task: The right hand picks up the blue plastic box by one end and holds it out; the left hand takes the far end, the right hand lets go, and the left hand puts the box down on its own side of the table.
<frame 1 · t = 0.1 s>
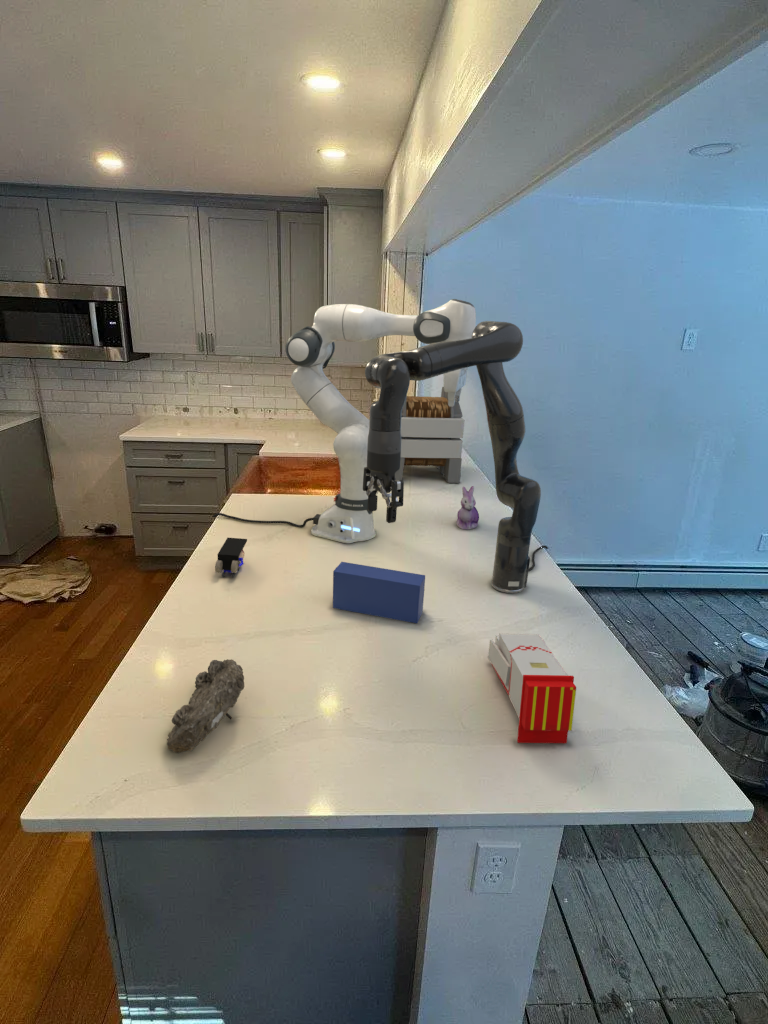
left hand: (453, 403, 174), 48 cm above the counter, tool pointing down, fingers open, 8 cm apart
right hand: (381, 516, 132), 29 cm above the counter, tool pointing down, fingers open, 8 cm apart
fossil: (212, 717, 108), on the counter
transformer: (419, 473, 275), on the counter
box: (377, 609, 149), on the counter
figurine: (467, 525, 210), on the counter
toy: (522, 696, 118), on the counter
figurine character: (232, 569, 168), on the counter
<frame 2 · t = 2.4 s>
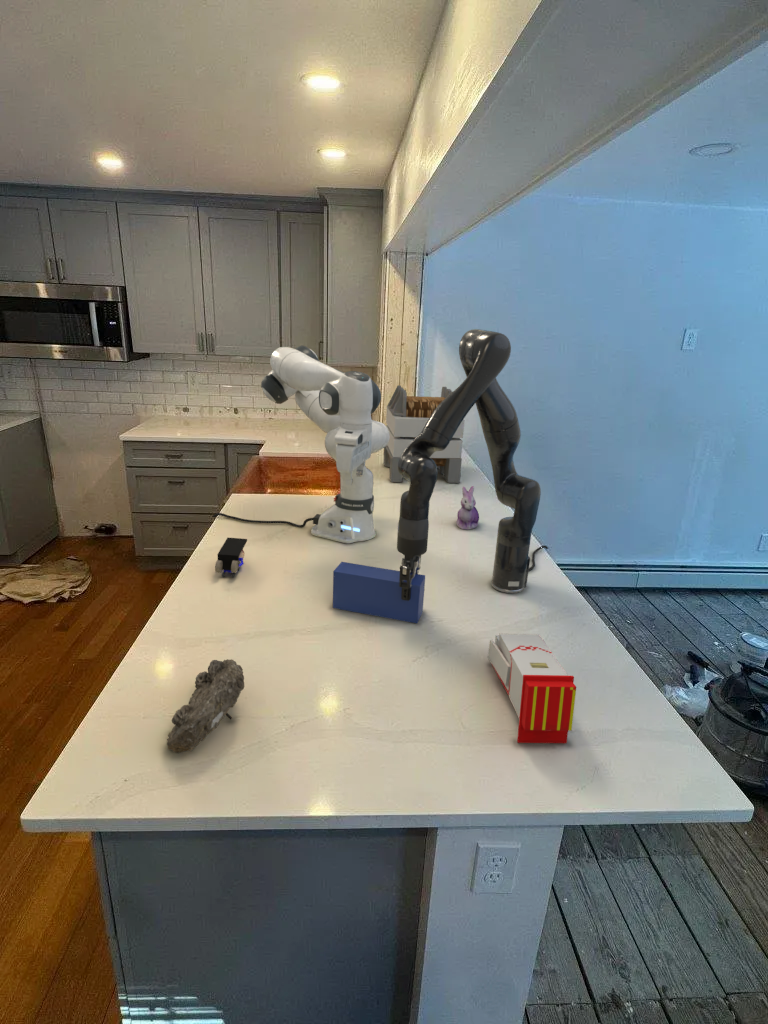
left hand: (354, 480, 161), 28 cm above the counter, tool pointing down, fingers open, 8 cm apart
right hand: (408, 593, 145), 6 cm above the counter, tool pointing down, fingers closed on box, 6 cm apart
box: (377, 609, 149), on the counter, touching right hand
everything else where it was.
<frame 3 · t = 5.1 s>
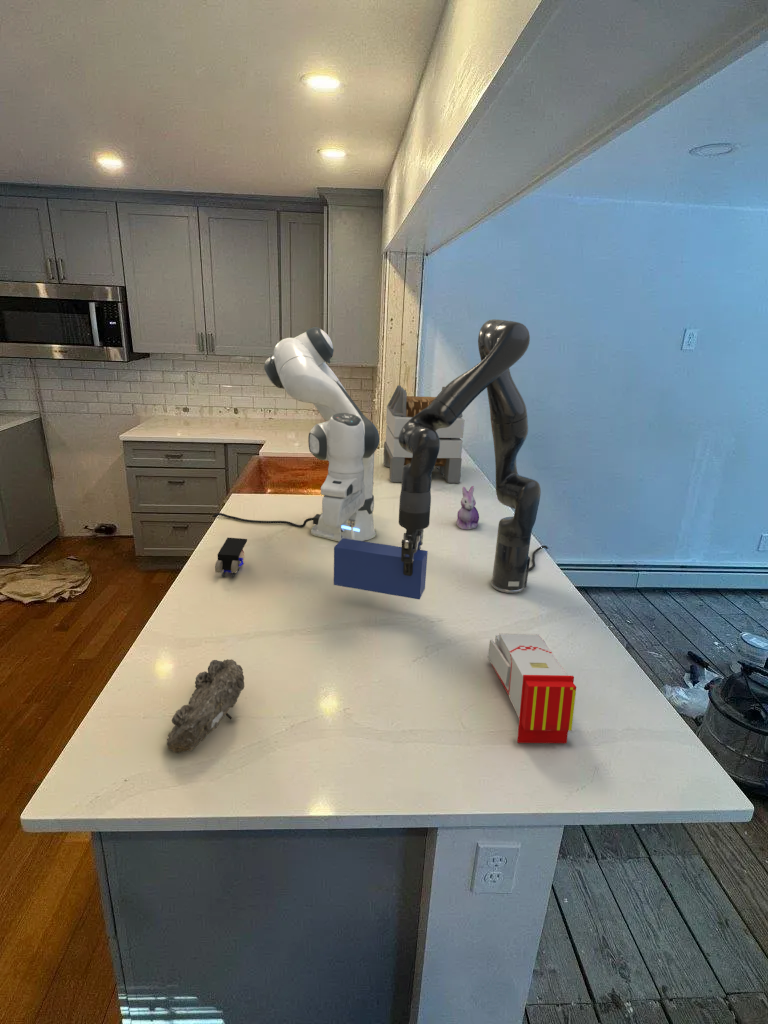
left hand: (345, 532, 145), 20 cm above the counter, tool pointing down, fingers open, 8 cm apart
right hand: (411, 569, 143), 13 cm above the counter, tool pointing down, fingers closed on box, 6 cm apart
box: (379, 586, 147), point 7 cm above the counter, touching right hand
everything else where it was.
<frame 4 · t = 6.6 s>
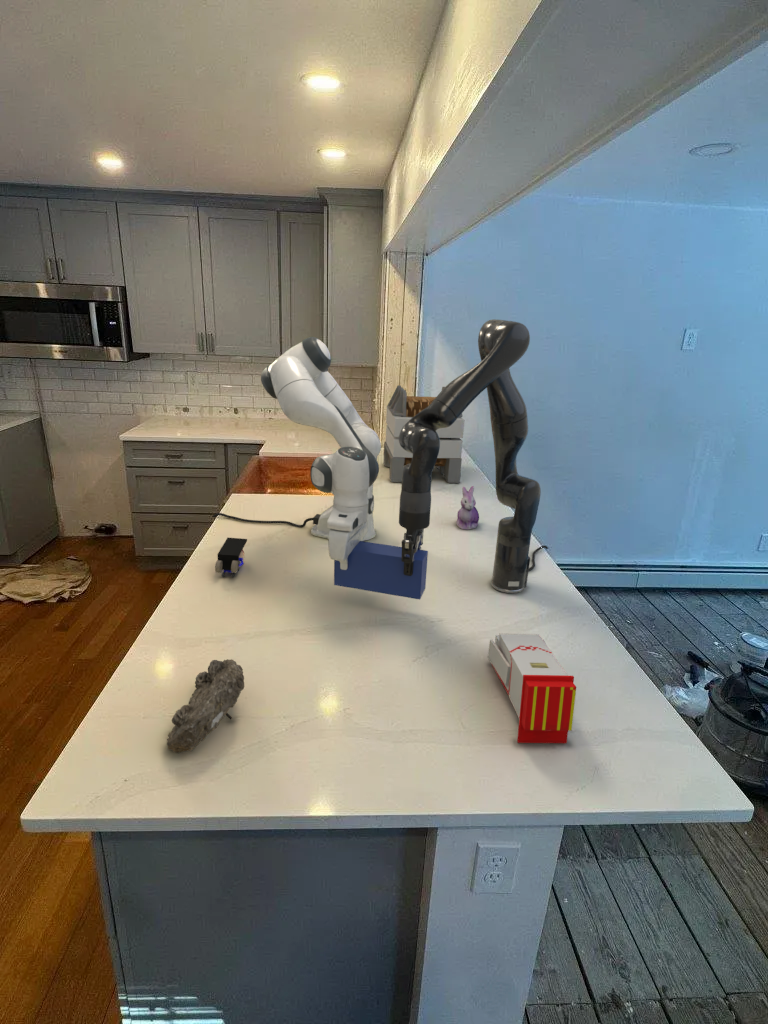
left hand: (349, 562, 147), 12 cm above the counter, tool pointing down, fingers closed on box, 6 cm apart
right hand: (411, 569, 143), 13 cm above the counter, tool pointing down, fingers closed on box, 6 cm apart
box: (379, 586, 147), point 7 cm above the counter, touching left hand, right hand
everything else where it was.
when the right hand's fingers open (13 cm above the counter, at t = 8.0 s): box moves 2 cm, held by the left hand.
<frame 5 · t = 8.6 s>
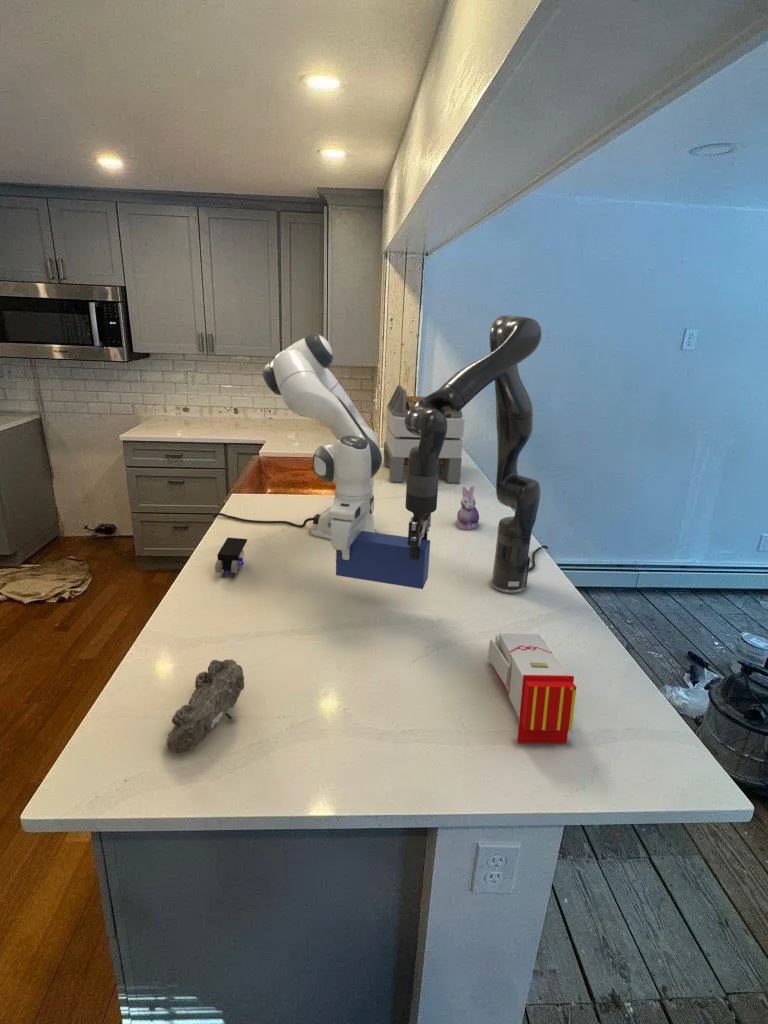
left hand: (351, 552, 146), 15 cm above the counter, tool pointing down, fingers closed on box, 6 cm apart
right hand: (418, 552, 141), 18 cm above the counter, tool pointing down, fingers open, 8 cm apart
box: (381, 576, 146), point 10 cm above the counter, touching left hand
everything else where it was.
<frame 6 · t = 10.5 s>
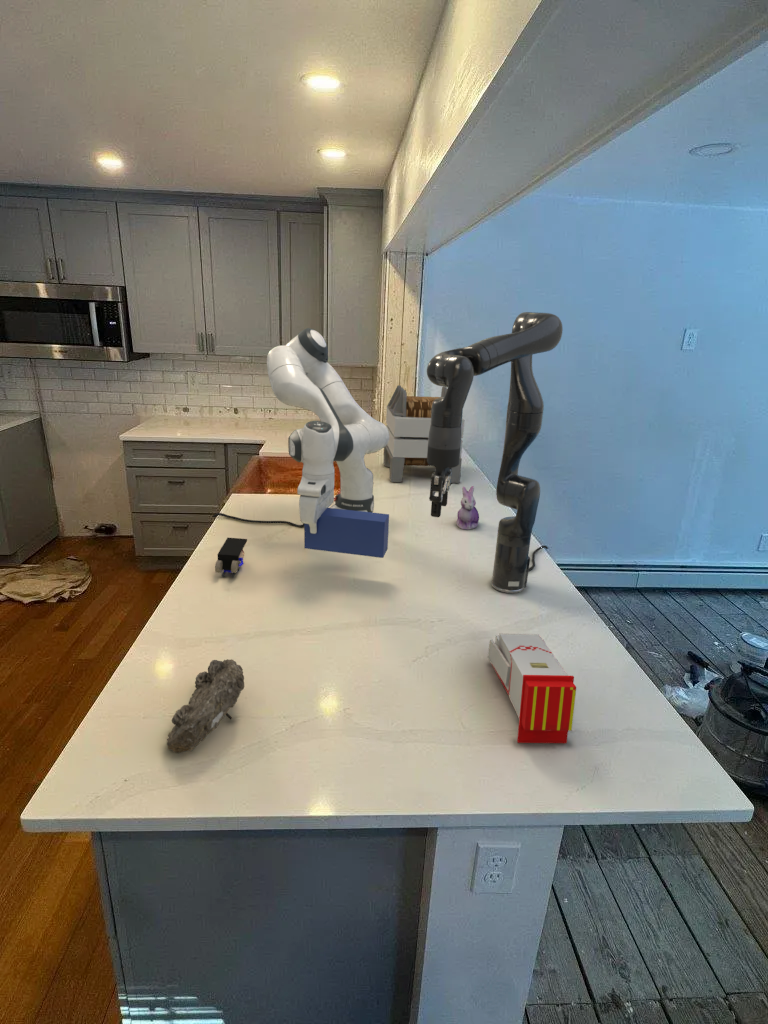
left hand: (318, 527, 161), 15 cm above the counter, tool pointing down, fingers closed on box, 6 cm apart
right hand: (438, 510, 136), 30 cm above the counter, tool pointing down, fingers open, 8 cm apart
box: (346, 548, 162), point 10 cm above the counter, touching left hand
everything else where it was.
when the left hand's fingers open (7 cm above the counter, at t = 12.1 s): box stays where it is, on the counter.
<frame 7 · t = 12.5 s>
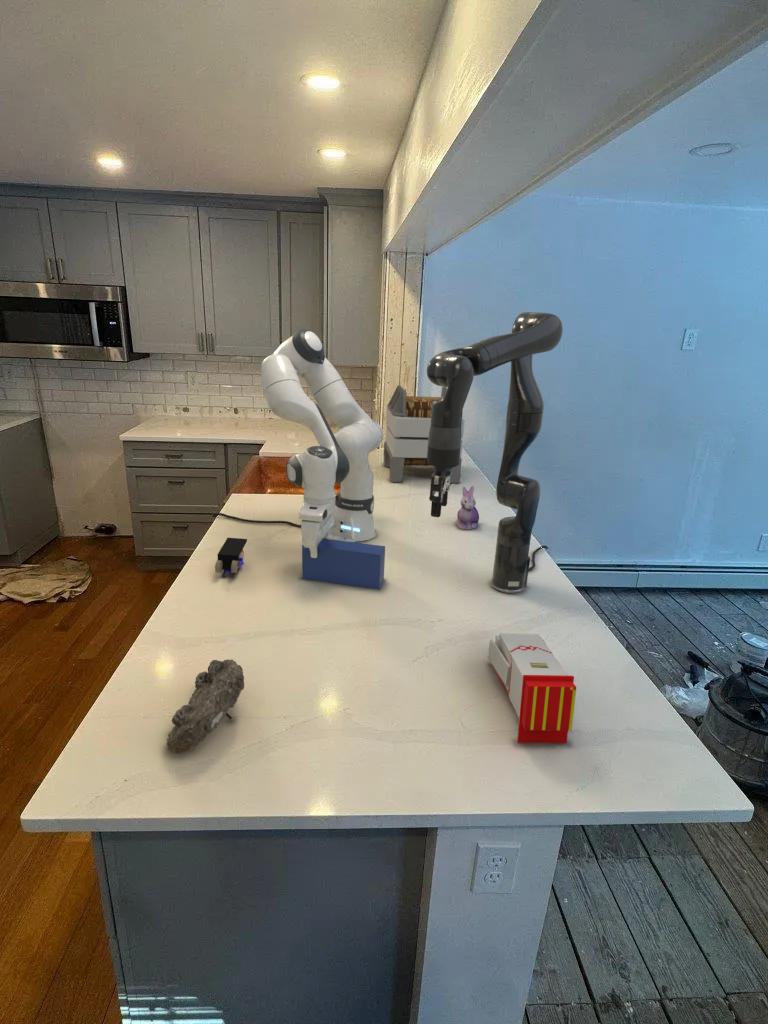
left hand: (319, 550, 163), 8 cm above the counter, tool pointing down, fingers open, 8 cm apart
right hand: (438, 510, 136), 30 cm above the counter, tool pointing down, fingers open, 8 cm apart
box: (343, 579, 165), on the counter
everything else where it was.
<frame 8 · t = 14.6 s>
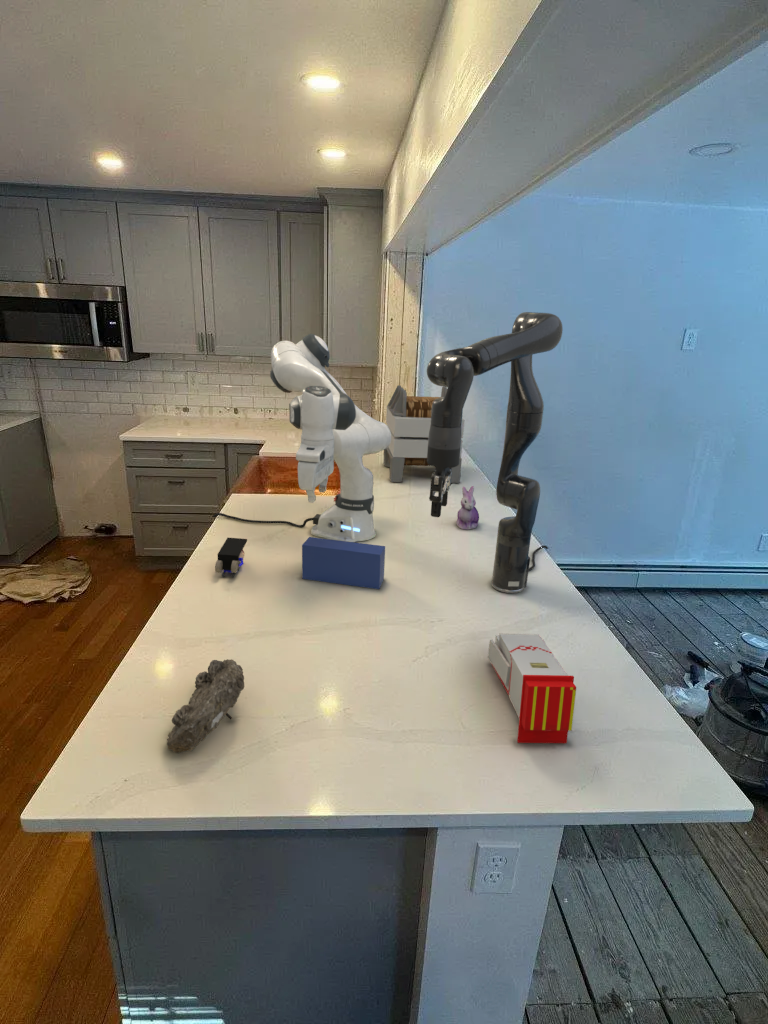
left hand: (317, 496, 158), 25 cm above the counter, tool pointing down, fingers open, 8 cm apart
right hand: (438, 510, 136), 30 cm above the counter, tool pointing down, fingers open, 8 cm apart
nothing on the counter moved.
at the end: box inside the target area (7.9 cm from its centre), on the counter; the left hand is holding nothing; the right hand is holding nothing; box at rest at the end (0.0 cm/s) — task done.
